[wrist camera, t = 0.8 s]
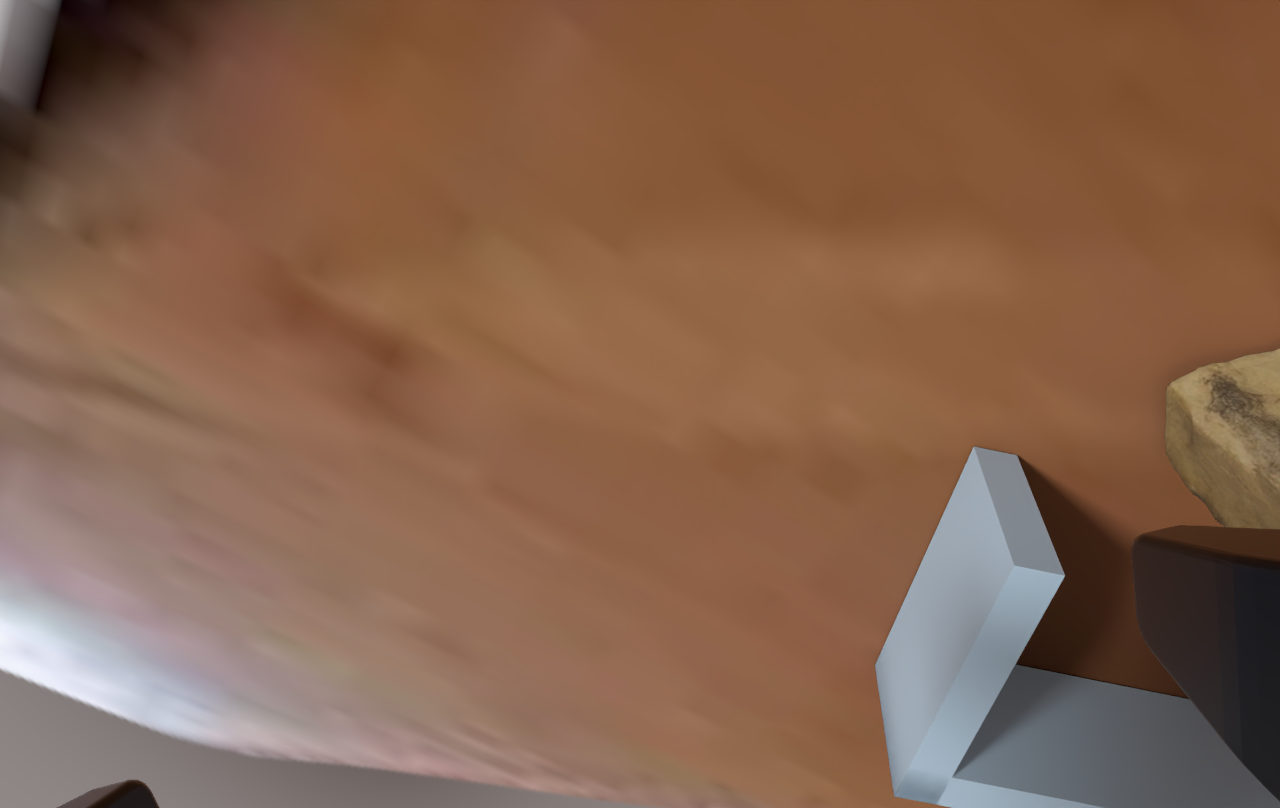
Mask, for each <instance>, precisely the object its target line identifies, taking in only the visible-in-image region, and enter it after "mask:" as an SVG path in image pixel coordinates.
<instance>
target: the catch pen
mask: <svg viewBox="0 0 1280 808" xmlns="http://www.w3.org/2000/svg"><path fill="white" fill-rule="evenodd" d="M1064 577H1065V574H1064V572H1063V569H1062V567H1061V564H1060V562H1059V559H1058V557H1057V554H1056V552H1055V549H1054V547H1053V544H1052V542H1051V539H1050V537H1049V534H1048V532H1047V529H1046V527H1045V524H1044V522H1043V519H1042V517H1041V514H1040V512H1039V509H1038V507H1037V504H1036V502H1035V499H1034V497H1033V494H1032V492H1031V489H1030V487H1029V484H1028V482H1027V479H1026V477H1025V474H1024V472H1023V469H1022V467H1021V464H1020V461H1019V459H1018V456H1017V455H1013V454H1008V453H1003V452H998V451H993V450H988V449H983V448H979V447H973V449H972V452H971V454H970V456H969V458H968V461H967V463H966V465H965V467H964V469H963V472H962V474H961V476H960V478H959V480H958V483H957V485H956V487H955V489H954V492H953V494H952V496H951V498H950V500H949V503H948V505H947V507H946V509H945V512H944V514H943V516H942V518H941V520H940V523H939V525H938V527H937V529H936V531H935V534H934V536H933V538H932V540H931V543H930V545H929V547H928V549H927V551H926V554H925V556H924V558H923V560H922V562H921V565H920V567H919V569H918V571H917V574H916V576H915V578H914V580H913V582H912V585H911V587H910V589H909V591H908V593H907V596H906V598H905V600H904V602H903V605H902V607H901V609H900V611H899V613H898V616H897V618H896V620H895V622H894V624H893V627H892V629H891V631H890V633H889V636H888V638H887V640H886V642H885V644H884V647H883V649H882V651H881V653H880V655H879V658H878V660H877V662H876V664H875V668H876V675H877V682H878V689H879V696H880V702H881V709H882V716H883V723H884V730H885V737H886V743H887V750H888V757H889V764H890V771H891V778H892V785H893V791H894V796H895V797H900V798H906V799H911V800H916V801H921V802H926V803H931V804H936V805H941V806H946V807H951V808H1280V801H1279V800H1278V799H1277V798H1276V797H1274V796H1273V795H1272V794H1271V793H1270V792H1269V791H1268V790H1267V789H1266V788H1265V787H1264V786H1263V785H1262V784H1261V782H1260V781H1259V780H1258V779H1257V778H1256V777H1255V776H1254V775H1253V774H1252V773H1251V772H1250V771H1249V770H1248V769H1247V768H1246V767H1245V766H1244V765H1243V764H1242V763H1241V761H1240V760H1239V759H1238V758H1237V757H1236V756H1235V754H1234V753H1233V752H1232V751H1231V750H1230V749H1229V747H1228V746H1227V745H1226V744H1225V743H1224V741H1223V740H1222V739H1221V738H1220V736H1219V735H1218V734H1217V733H1216V731H1215V730H1214V729H1213V728H1212V726H1211V725H1210V724H1209V723H1208V721H1207V720H1206V719H1205V718H1204V716H1203V715H1202V714H1201V713H1200V711H1199V710H1198V709H1197V708H1196V706H1195V705H1194V704H1193V703H1192V701H1191V700H1190V699H1185V698H1180V697H1175V696H1170V695H1165V694H1160V693H1155V692H1150V691H1145V690H1140V689H1135V688H1130V687H1125V686H1120V685H1115V684H1110V683H1105V682H1100V681H1095V680H1090V679H1085V678H1080V677H1075V676H1070V675H1065V674H1060V673H1055V672H1050V671H1045V670H1040V669H1035V668H1030V667H1025V666H1020V665H1015V664H1016V662H1017V661H1018V659H1019V657H1020V655H1021V653H1022V652H1023V650H1024V648H1025V646H1026V645H1027V643H1028V641H1029V639H1030V637H1031V636H1032V634H1033V632H1034V630H1035V628H1036V627H1037V625H1038V623H1039V621H1040V620H1041V618H1042V616H1043V614H1044V612H1045V611H1046V609H1047V607H1048V605H1049V604H1050V602H1051V600H1052V598H1053V596H1054V595H1055V593H1056V591H1057V589H1058V588H1059V586H1060V584H1061V582H1062V580H1063V579H1064Z"/></svg>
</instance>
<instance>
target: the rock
mask: <svg viewBox="0 0 1280 808" xmlns="http://www.w3.org/2000/svg"><path fill="white" fill-rule="evenodd" d="M1164 438H1165V445H1166V454H1167V456H1168V459H1169V461H1170V463H1171V465H1172V467H1173V468H1174V469H1175V470H1176V471H1177V473H1178V474H1179V475H1180V477H1181V479H1182V480H1183V482H1184V483H1185V485H1186V486H1187V487H1188V489H1189V490H1190V491H1191V492H1192V494H1193V495H1195V496H1198V497H1199V498H1200V499H1201V500H1202V501H1203V502H1204V503H1205V504H1206V505H1207V507H1208V508H1209V510H1210V511H1211V513H1212V515H1213V516H1214V518H1215V519H1216V520H1217V521H1218V522H1219V523H1220V524H1222V525H1223V526H1224V527H1236V528H1261V529H1280V349H1278V350H1275V351H1270V352H1264V353H1259V354H1252V355H1246V356H1242V357H1239V358H1237V359H1234V360H1231V361H1229V362H1221V363H1212V364H1209V365H1206V366H1203V367H1199V368H1197V369H1196V370H1195V371H1193V372H1191V373H1189V374H1187V375H1185V376H1182V377H1180V378H1178V379H1176V380H1174V381H1173V382H1171V383H1170V384H1168V386H1167V392H1166V425H1165V436H1164Z"/></svg>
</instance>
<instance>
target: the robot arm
mask: <svg viewBox="0 0 1280 808" xmlns="http://www.w3.org/2000/svg"><path fill="white" fill-rule="evenodd" d="M1131 559H1132V570H1133V581H1134V593H1135V604H1136V615H1137V621H1138V625H1139V629H1140V631H1141V634H1142V636H1143V638H1144V640H1145V642H1146V644H1147V646H1148V647H1149V649H1150V650H1151V651H1152V653H1153V654H1154V655H1155V656H1156V658H1157V659H1158V660H1159V661H1160V663H1161V664H1162V665H1163V666H1164V668H1165V669H1166V670H1167V671H1168V673H1169V674H1170V675H1171V676H1172V678H1173V679H1174V680H1175V681H1176V683H1177V684H1178V685H1179V686H1180V688H1181V689H1182V690H1183V691H1184V693H1185V694H1186V695H1187V696H1188V698H1189V699H1190V700H1191V701H1192V703H1193V704H1194V705H1195V706H1196V708H1197V709H1198V710H1199V711H1200V713H1201V714H1202V715H1203V716H1204V718H1205V719H1206V720H1207V721H1208V723H1209V724H1210V725H1211V726H1212V728H1213V729H1214V730H1215V731H1216V733H1217V734H1218V735H1219V736H1220V738H1221V739H1222V740H1223V741H1224V743H1225V744H1226V745H1227V746H1228V747H1229V749H1230V750H1231V751H1232V752H1233V753H1234V754H1235V756H1236V757H1237V758H1238V759H1239V760H1240V761H1241V763H1242V764H1243V765H1244V766H1245V767H1246V768H1247V769H1248V770H1249V771H1250V772H1251V773H1252V774H1253V775H1254V776H1255V777H1256V778H1257V779H1258V780H1259V781H1260V782H1261V784H1262V785H1263V786H1264V787H1265V788H1266V789H1267V790H1268V791H1269V792H1270V793H1271V794H1272V795H1273V796H1274V797H1276V798H1277V799H1278V800H1279V801H1280V529H1261V528H1236V527H1211V526H1186V525H1180V526H1173V527H1169V528H1165V529H1160V530H1156V531H1152V532H1148V533H1144V534H1141V535H1139V536H1138V537H1136V538H1135V540H1134V542H1133V543H1132V550H1131ZM57 808H159V806H158V804H157V802H156V800H155V798H154V796H153V794H152V792H151V790H150V789H149V787H148V786H147V785H146V784H145V783H143V782H141V781H139V780H127V781H123V782H119V783H115V784H111V785H107V786H103V787H99V788H96V789H93V790H91V791H89V792H87V793H85V794H83V795H81V796H79V797H77V798H75V799H73V800H71V801H69V802H67V803H65V804H63V805H61V806H59V807H57Z"/></svg>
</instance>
